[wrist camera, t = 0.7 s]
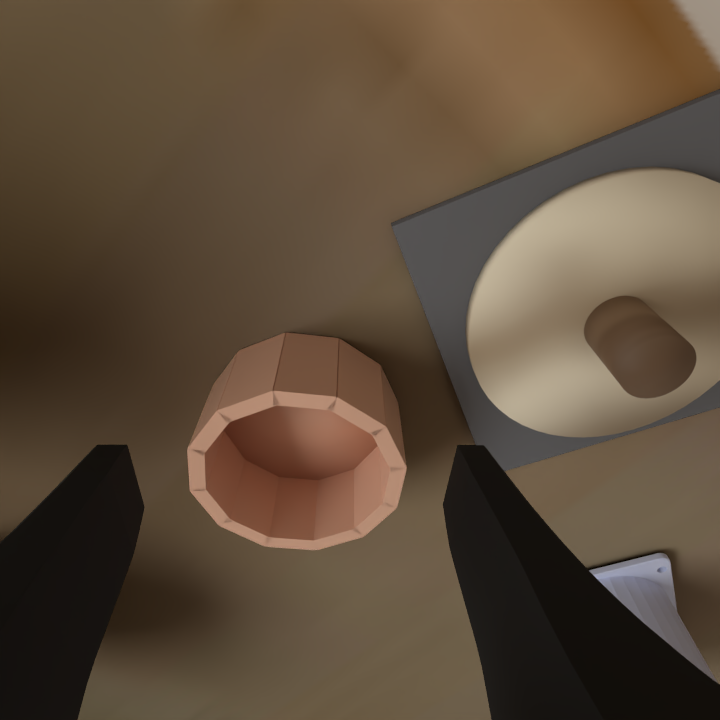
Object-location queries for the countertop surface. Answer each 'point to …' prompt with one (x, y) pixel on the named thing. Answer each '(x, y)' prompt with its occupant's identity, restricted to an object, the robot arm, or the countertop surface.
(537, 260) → the cover
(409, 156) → the countertop surface
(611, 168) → the mat
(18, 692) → the robot arm
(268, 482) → the bowl
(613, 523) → the countertop surface
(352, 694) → the countertop surface
